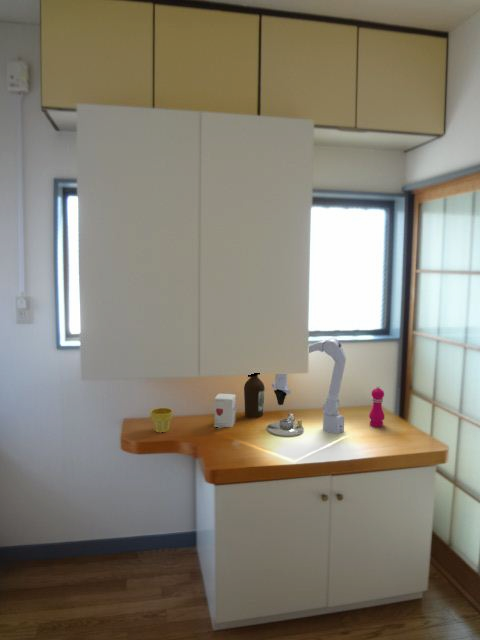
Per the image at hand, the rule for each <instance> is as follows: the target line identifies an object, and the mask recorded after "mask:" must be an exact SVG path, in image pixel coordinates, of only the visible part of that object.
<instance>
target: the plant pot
mask: <svg viewBox="0 0 480 640" xmlns="http://www.w3.org/2000/svg"><path fill="white" fill-rule="evenodd" d="M173 414H174V410H173V409H172V408H169V407H157V408H153V409H151V410H150V419H151V421H152V426H153V429H154V430H155V431H156V432H166V431H168V430H169V431H170V426H171V421H172V419H173V417H174V415H173ZM155 431H154V432H155ZM169 431H168V432H169ZM156 432H155V433H156ZM166 433H167V432H166Z"/></svg>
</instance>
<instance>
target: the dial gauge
mask: <svg viewBox="0 0 480 640" xmlns="http://www.w3.org/2000/svg"><path fill="white" fill-rule="evenodd" d="M286 417H287V418H286V419H290V420H293V422H294V421H295V415H294V414H293V413H287V416H286Z"/></svg>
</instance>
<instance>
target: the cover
mask: <svg viewBox="0 0 480 640" xmlns="http://www.w3.org/2000/svg"><path fill="white" fill-rule="evenodd" d="M279 422H280V428H281V429H286V430H289V429H293V423H294V421H293V420H290V419H288V418H283V419H282V418H281V419H279Z"/></svg>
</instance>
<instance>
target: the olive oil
mask: <svg viewBox="0 0 480 640" xmlns="http://www.w3.org/2000/svg"><path fill="white" fill-rule="evenodd" d="M265 388H266V387H265V385H264V382H263V381H262V380H261V379H260V378H259V374H255V375H252V376H249V379H247V381H245V383H244V386H243V396H244V397H243V399H244V417H245V418H246V419H247V418H249V419H251V418H252V419H254V418H255V419H257V418H263V417H264V404H265V402H264V401H265V390H266V389H265Z"/></svg>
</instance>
